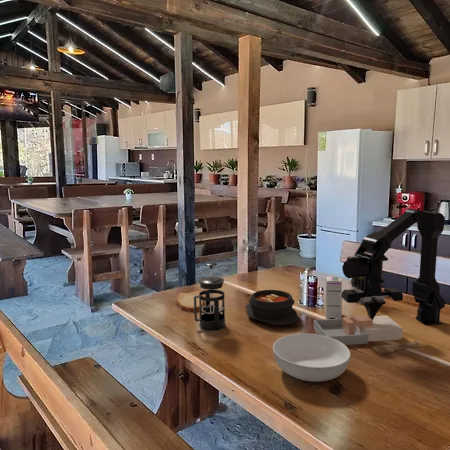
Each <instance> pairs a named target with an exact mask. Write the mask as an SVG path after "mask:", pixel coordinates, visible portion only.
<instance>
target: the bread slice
mask: <svg viewBox="0 0 450 450" xmlns="http://www.w3.org/2000/svg"><path fill="white" fill-rule="evenodd" d="M200 292H201V291H200V290H195V291H192V292H189V293H187V292H186V293H185V292H180V293H178V295H177V296H176V302H175V304H176V306H177V308H179V309H180V308H181V309H180V310H182V311H184V310H185V312H187V311H188V313H194V296H198V295H199V293H200ZM201 296H203V297H204V295H201ZM201 304H202V307H203V306H205V301H203V300H201ZM196 307H197V313H200V306H199V298H196Z"/></svg>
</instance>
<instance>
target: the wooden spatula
mask: <svg viewBox="0 0 450 450" xmlns="http://www.w3.org/2000/svg"><path fill="white" fill-rule="evenodd" d="M414 346H417V347H420V342H418V341H417V340H415V341H414V340H413V341H408V342H401V343H399V342H398V343H394V344H393V343H392V344H384V345H377V346H372V349H373V350H374V351H375V352H376V353H378V354H379V355H381V354H387V353H394V352H395V351H397V350H403V349H409V348H408V347H411V348H415V347H414Z"/></svg>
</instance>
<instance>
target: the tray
mask: <svg viewBox="0 0 450 450" xmlns="http://www.w3.org/2000/svg"><path fill="white" fill-rule="evenodd" d="M349 318H350V319H351V317H349ZM313 329H314V331H315V332H316V333H317V335H323V336H327V337H330V338H333V339H335V340H337V341H339V342H341V343H343V344H344V345H345V346H347V345H363V344H365V345H366V344H367V345H368V344H369V341H368V334H359V333H358V332H357V331H356V330H355V329H354V330H355V335H346V334H345V333H344V332H343V325H342V318H341V319H330V318H326V319H313Z"/></svg>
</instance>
